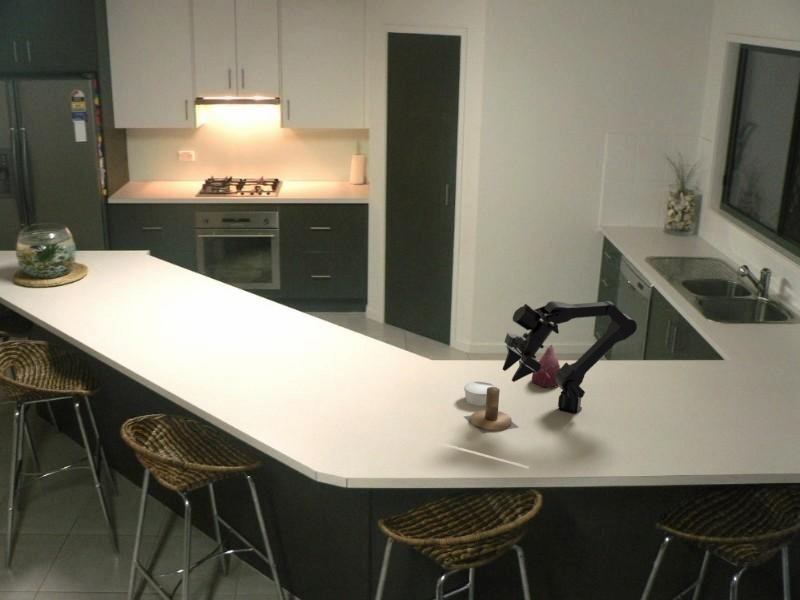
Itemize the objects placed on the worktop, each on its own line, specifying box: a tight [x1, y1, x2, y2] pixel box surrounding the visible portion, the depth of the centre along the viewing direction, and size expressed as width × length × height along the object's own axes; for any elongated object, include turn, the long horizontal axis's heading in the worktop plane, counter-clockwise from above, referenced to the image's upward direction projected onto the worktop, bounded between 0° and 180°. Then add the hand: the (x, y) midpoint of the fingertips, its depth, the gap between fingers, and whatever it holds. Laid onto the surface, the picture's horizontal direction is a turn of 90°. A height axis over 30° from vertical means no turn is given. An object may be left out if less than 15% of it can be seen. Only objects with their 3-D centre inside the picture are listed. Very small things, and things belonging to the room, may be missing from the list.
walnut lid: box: [470, 386, 513, 432], centre depth 320 cm, size 13×13×11 cm
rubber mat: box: [463, 414, 519, 434], centre depth 322 cm, size 13×13×1 cm
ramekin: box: [463, 380, 498, 407], centre depth 337 cm, size 11×11×5 cm
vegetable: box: [531, 344, 561, 388], centre depth 355 cm, size 10×10×15 cm
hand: (508, 375), depth 325 cm, fingers open, 9 cm apart
